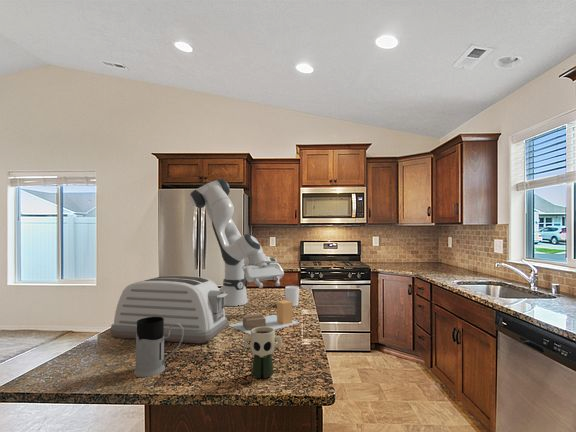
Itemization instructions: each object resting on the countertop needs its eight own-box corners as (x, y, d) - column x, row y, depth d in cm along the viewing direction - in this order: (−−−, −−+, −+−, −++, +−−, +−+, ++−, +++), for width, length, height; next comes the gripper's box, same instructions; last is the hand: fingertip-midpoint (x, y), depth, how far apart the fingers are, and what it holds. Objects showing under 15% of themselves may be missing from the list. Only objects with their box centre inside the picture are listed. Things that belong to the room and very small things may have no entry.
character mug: (242, 381, 90) (242, 334, 91) (245, 370, 97) (245, 326, 98) (281, 380, 90) (281, 333, 91) (281, 369, 97) (281, 326, 98)
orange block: (276, 321, 144) (276, 301, 145) (286, 320, 147) (286, 300, 148) (283, 324, 140) (283, 303, 141) (292, 322, 143) (292, 302, 144)
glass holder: (140, 364, 101) (141, 316, 102) (186, 363, 102) (187, 315, 103) (128, 377, 93) (129, 324, 93) (179, 375, 94) (179, 323, 94)
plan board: (228, 327, 139) (228, 325, 139) (274, 316, 157) (274, 314, 157) (253, 338, 126) (253, 335, 126) (300, 324, 143) (300, 322, 143)
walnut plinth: (242, 325, 140) (242, 315, 140) (260, 323, 142) (260, 314, 143) (246, 330, 132) (246, 320, 132) (265, 328, 135) (265, 318, 135)
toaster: (212, 346, 117) (212, 284, 118) (105, 338, 126) (107, 281, 127) (235, 327, 140) (235, 276, 140) (143, 322, 149) (144, 273, 149)
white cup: (293, 307, 176) (293, 288, 176) (282, 305, 180) (282, 287, 181) (302, 304, 182) (301, 286, 182) (290, 302, 187) (290, 285, 187)
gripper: (243, 260, 155) (253, 284, 146) (279, 258, 166) (290, 280, 158) (239, 269, 158) (248, 292, 150) (274, 266, 170) (284, 287, 161)
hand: (270, 286), depth 154 cm, fingers open, 8 cm apart
